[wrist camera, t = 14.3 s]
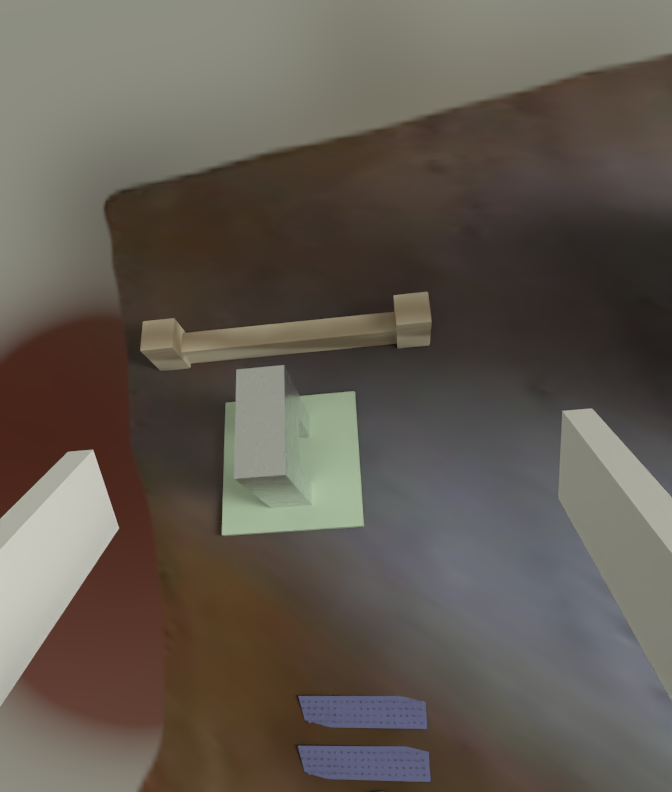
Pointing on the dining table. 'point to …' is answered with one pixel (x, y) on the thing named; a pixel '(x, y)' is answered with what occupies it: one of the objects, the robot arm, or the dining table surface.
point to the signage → (365, 759)
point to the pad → (320, 460)
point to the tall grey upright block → (270, 437)
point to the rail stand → (288, 336)
